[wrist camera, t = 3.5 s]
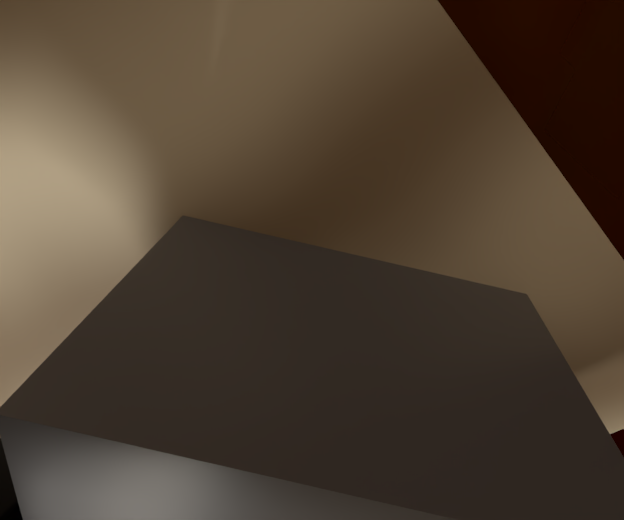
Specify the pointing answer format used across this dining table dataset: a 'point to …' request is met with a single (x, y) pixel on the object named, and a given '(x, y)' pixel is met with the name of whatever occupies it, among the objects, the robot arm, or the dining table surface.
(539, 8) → the dining table surface
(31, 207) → the panel
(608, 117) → the dining table surface
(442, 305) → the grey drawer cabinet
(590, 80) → the dining table surface
